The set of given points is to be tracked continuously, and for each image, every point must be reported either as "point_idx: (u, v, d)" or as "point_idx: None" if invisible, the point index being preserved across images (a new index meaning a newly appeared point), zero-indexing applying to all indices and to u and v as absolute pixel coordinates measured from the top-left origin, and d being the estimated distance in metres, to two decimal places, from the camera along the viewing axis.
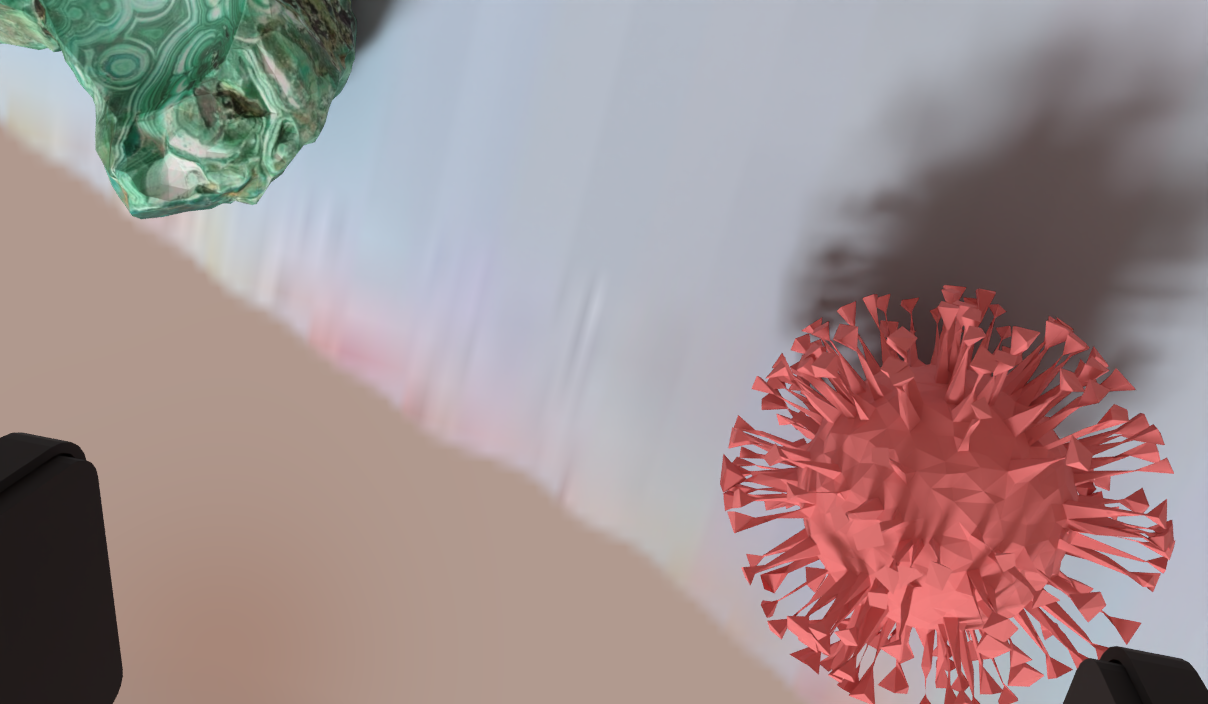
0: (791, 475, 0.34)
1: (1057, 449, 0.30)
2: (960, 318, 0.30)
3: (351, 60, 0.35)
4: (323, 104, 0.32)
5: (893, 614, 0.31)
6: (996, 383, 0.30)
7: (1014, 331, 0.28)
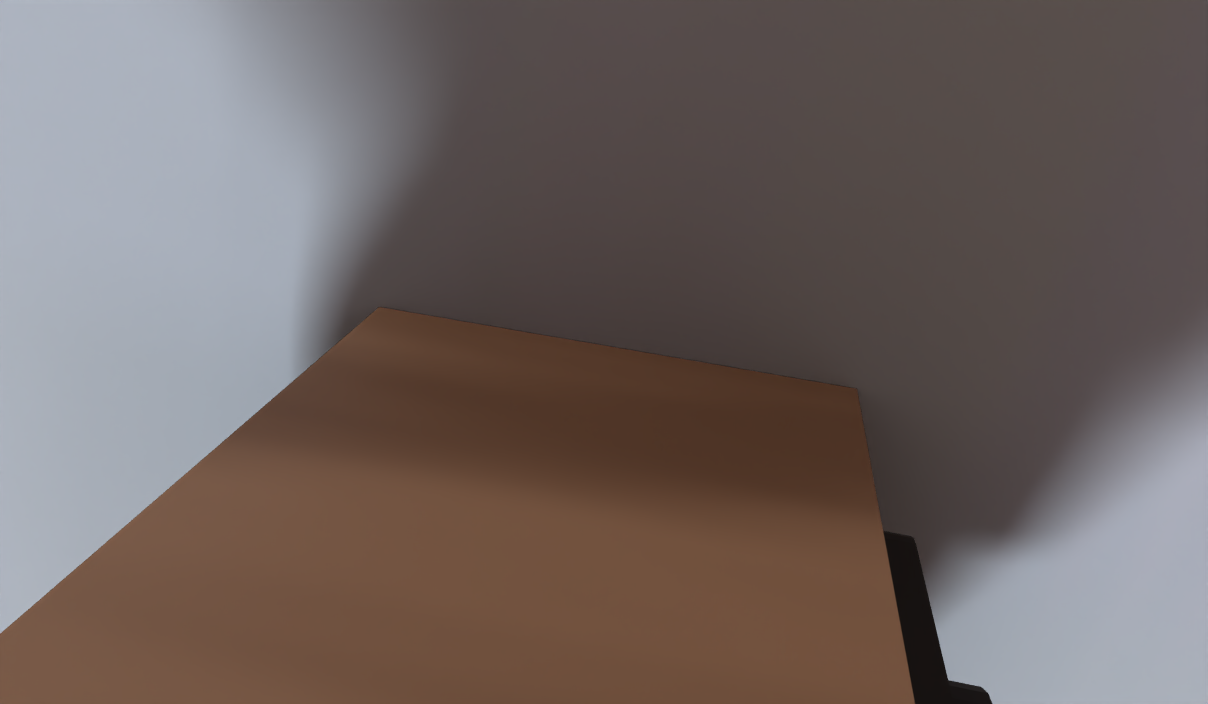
0: None
1: None
2: None
3: None
4: None
5: None
6: None
7: None
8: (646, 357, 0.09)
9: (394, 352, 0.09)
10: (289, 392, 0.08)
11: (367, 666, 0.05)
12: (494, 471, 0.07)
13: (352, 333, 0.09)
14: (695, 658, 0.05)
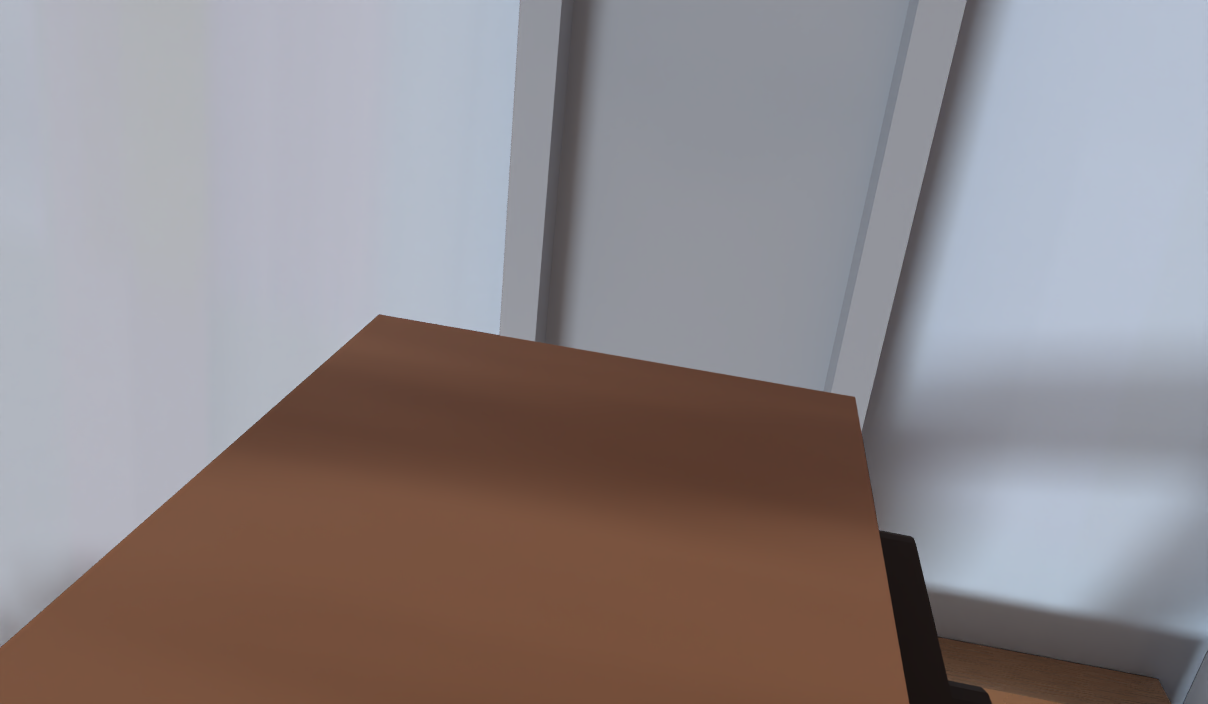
0: None
1: None
2: None
3: None
4: None
5: None
6: None
7: None
8: (645, 365, 0.09)
9: (392, 359, 0.09)
10: (289, 401, 0.08)
11: (369, 680, 0.05)
12: (493, 480, 0.07)
13: (352, 341, 0.09)
14: (693, 670, 0.05)
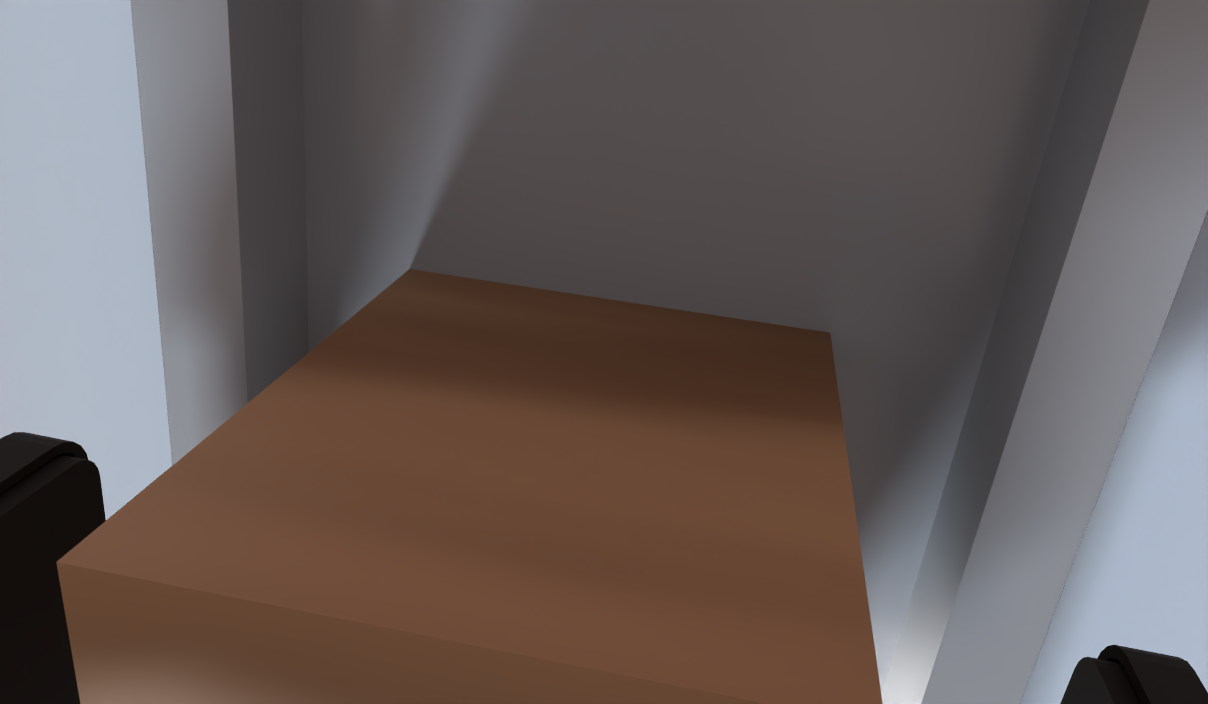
0: None
1: None
2: None
3: None
4: None
5: None
6: None
7: None
8: (644, 308, 0.11)
9: (425, 303, 0.10)
10: (338, 333, 0.09)
11: (423, 522, 0.06)
12: (516, 391, 0.08)
13: (388, 289, 0.10)
14: (686, 522, 0.07)
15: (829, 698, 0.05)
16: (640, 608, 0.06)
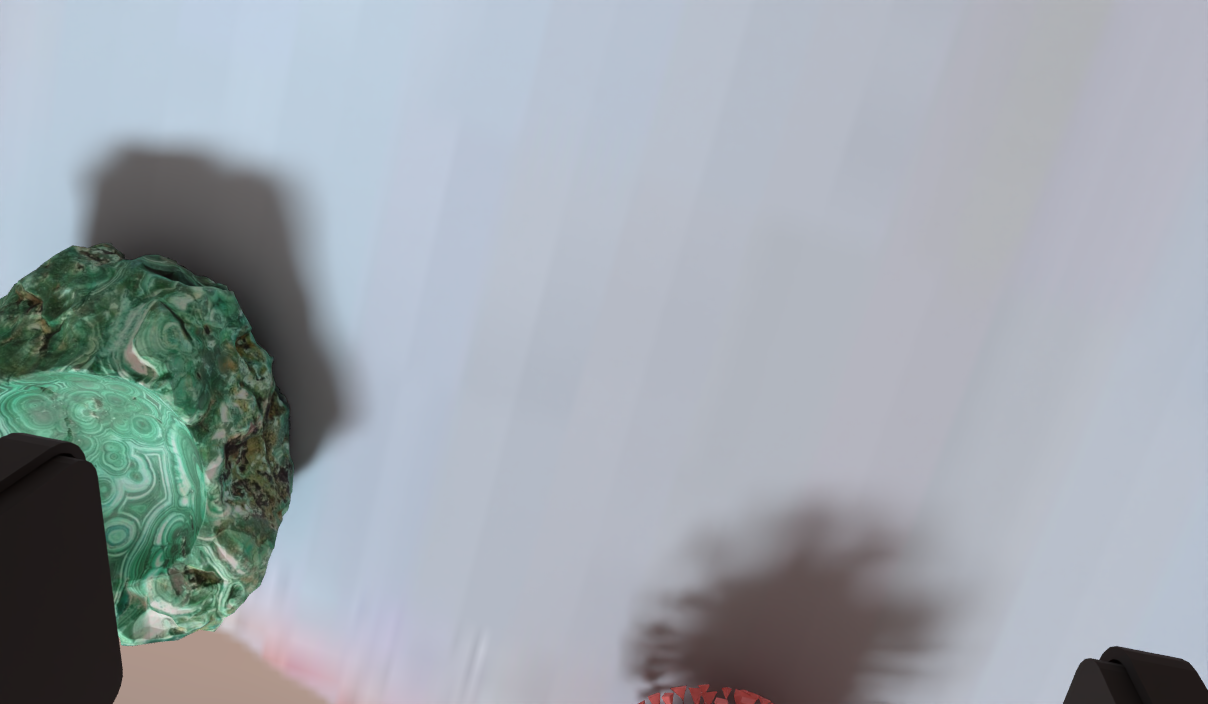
0: None
1: None
2: None
3: (287, 505, 0.47)
4: (263, 564, 0.44)
5: None
6: None
7: None
8: None
9: None
10: None
11: None
12: None
13: None
14: None
15: None
16: None
